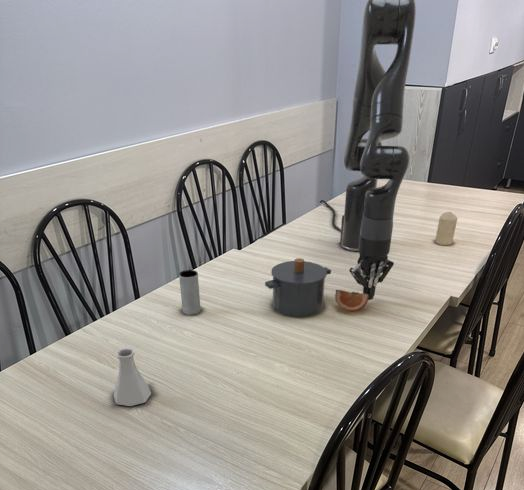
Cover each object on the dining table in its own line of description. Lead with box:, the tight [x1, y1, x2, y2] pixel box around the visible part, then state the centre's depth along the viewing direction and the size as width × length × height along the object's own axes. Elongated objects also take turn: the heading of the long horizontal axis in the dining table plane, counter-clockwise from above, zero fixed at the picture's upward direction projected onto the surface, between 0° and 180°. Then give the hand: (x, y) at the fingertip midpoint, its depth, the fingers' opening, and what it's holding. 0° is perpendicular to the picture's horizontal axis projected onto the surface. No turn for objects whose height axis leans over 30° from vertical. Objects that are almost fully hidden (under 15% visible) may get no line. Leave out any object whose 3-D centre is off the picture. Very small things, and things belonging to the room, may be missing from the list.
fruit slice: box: [334, 289, 369, 313], centre depth 128 cm, size 8×7×5 cm
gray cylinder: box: [178, 269, 201, 316], centre depth 125 cm, size 4×4×10 cm
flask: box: [113, 347, 152, 407], centre depth 95 cm, size 7×7×10 cm
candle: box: [435, 211, 458, 246], centre depth 167 cm, size 6×6×10 cm
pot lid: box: [270, 257, 328, 285], centre depth 125 cm, size 14×14×4 cm
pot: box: [264, 266, 332, 318], centre depth 128 cm, size 13×18×9 cm
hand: (368, 298), depth 130 cm, fingers closed
